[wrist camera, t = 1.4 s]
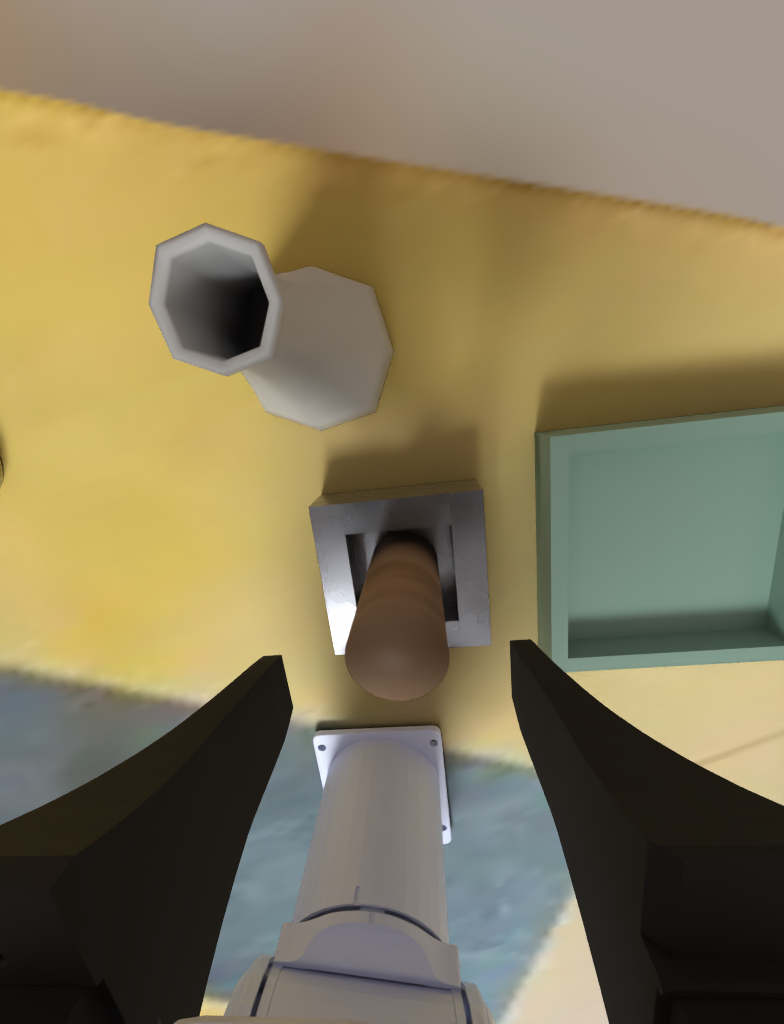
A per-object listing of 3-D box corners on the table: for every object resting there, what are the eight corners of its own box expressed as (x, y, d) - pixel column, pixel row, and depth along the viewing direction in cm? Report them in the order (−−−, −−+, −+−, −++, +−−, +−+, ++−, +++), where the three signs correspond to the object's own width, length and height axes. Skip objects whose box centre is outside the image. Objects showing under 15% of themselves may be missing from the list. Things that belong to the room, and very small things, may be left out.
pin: (440, 589, 21) (453, 698, 13) (376, 594, 21) (352, 703, 14) (434, 528, 20) (444, 607, 12) (367, 534, 20) (337, 614, 13)
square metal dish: (483, 618, 22) (491, 645, 19) (343, 627, 23) (335, 654, 20) (474, 479, 20) (482, 490, 17) (321, 494, 20) (308, 507, 18)
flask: (393, 265, 17) (365, 98, 8) (394, 430, 19) (372, 459, 10) (236, 269, 18) (25, 116, 8) (252, 430, 20) (98, 457, 10)
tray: (765, 631, 21) (806, 658, 19) (538, 645, 22) (551, 672, 20) (802, 403, 18) (856, 403, 16) (534, 432, 19) (550, 436, 17)
